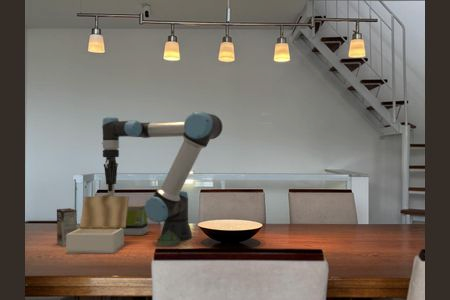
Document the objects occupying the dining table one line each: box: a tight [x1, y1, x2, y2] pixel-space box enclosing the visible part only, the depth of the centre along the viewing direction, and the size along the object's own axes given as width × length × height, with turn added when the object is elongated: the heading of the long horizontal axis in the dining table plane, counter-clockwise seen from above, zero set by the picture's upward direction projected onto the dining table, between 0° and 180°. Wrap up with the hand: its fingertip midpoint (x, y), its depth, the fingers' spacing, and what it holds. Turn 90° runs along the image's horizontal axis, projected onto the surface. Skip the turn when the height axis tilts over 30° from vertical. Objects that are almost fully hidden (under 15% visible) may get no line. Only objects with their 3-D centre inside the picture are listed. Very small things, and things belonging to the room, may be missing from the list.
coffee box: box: [56, 208, 78, 248], centre depth 178 cm, size 9×6×16 cm
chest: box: [65, 228, 125, 255], centre depth 167 cm, size 20×14×8 cm
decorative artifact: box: [156, 229, 181, 248], centre depth 175 cm, size 10×7×10 cm
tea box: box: [124, 204, 149, 236], centre depth 200 cm, size 15×10×15 cm, turn 84°
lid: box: [79, 194, 130, 229], centre depth 177 cm, size 21×16×2 cm
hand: (111, 197), depth 186 cm, fingers closed
